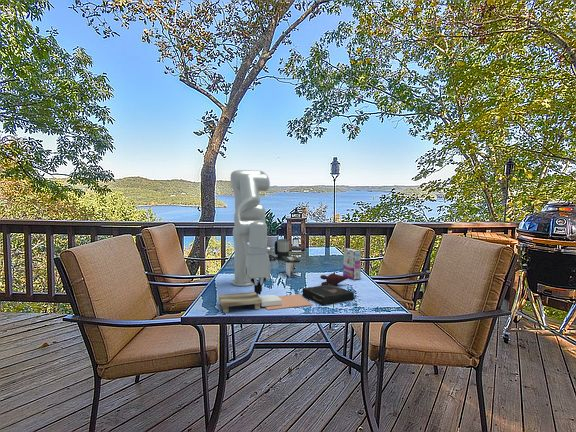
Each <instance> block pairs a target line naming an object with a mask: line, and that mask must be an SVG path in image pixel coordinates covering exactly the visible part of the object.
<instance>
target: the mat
mask: <svg viewBox="0 0 576 432" xmlns="http://www.w3.org/2000/svg"><path fill="white" fill-rule="evenodd" d="M277 296H278V297H279V298H280V299H282V305H274V306H263V307H264V308H265V309H266V310H267V311H271V310H272V311H274V310H282V309H291V308H292V309H293V308H299V307H300V308H302V307H303V308H304V307H310V306H313V303H312V302H310V301H309V299H307V298H306V297H304V296H303V295H301V294H300V293H299V294H298V293H297V294H288V295H277Z"/></svg>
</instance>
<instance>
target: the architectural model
mask: <svg viewBox="0 0 576 432" xmlns="http://www.w3.org/2000/svg"><path fill="white" fill-rule="evenodd" d="M282 259H283V260H282V261H284V262H285V273H286V275H287V276H288V277H289V278H291V274H293V275H294V268H295V267H296V263H301V259H299V258H298V257H297V253H296V252H295V255H289V256H282Z"/></svg>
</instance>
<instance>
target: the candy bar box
mask: <svg viewBox="0 0 576 432" xmlns="http://www.w3.org/2000/svg"><path fill="white" fill-rule="evenodd" d="M342 260H343V263H342V264H343V266H342V267H343V268H342V270H343V271H342V273H343V275H342V276H345V277H348V279H350V280H353V281H356V280H357V281H358V280H361V271H362V269H361V268H362V265H361V264H362V251H361V250H359V249H356V248H355V249H354V248H349V247H348V248H343V259H342Z"/></svg>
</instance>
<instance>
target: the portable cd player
mask: <svg viewBox="0 0 576 432" xmlns="http://www.w3.org/2000/svg"><path fill="white" fill-rule="evenodd" d="M302 297H304V298H305V299H307V300H311V301H313V302H314V303H316V304H319V305H321V306H323V307H325V306H329V305H333V304H339V303H340V304H341V303H344V302H345V303H346V302H349V301H353V300H355V296H354V292H353V291H350V290H348V289H345V288H343V287H340V286H338V285H337V286H335V285H332V284H328V285H317V286H315V285H314V286H309V287H305V288H302Z"/></svg>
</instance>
